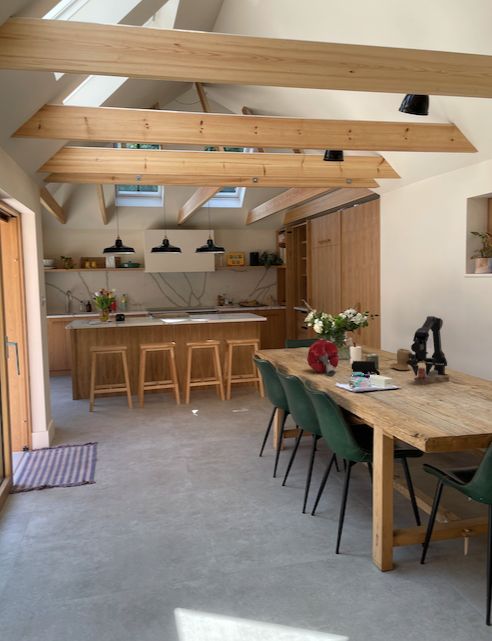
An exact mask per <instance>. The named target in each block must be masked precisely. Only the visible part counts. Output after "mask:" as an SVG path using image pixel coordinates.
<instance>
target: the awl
mask: <svg viewBox="0 0 492 641" xmlns="http://www.w3.org/2000/svg"><path fill="white" fill-rule="evenodd" d="M425 370H426V368H424V367H418V373H417V377H418V378H420V379H423V378H425Z"/></svg>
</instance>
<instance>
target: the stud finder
mask: <svg viewBox="0 0 492 641" xmlns="http://www.w3.org/2000/svg"><path fill="white" fill-rule="evenodd" d="M434 375H438V371H436V370H434V369H430V371H429V373H428V375H427V374H426V369H425V376H434Z"/></svg>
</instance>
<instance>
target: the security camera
mask: <svg viewBox="0 0 492 641" xmlns="http://www.w3.org/2000/svg"><path fill="white" fill-rule="evenodd" d="M350 365H351V371H352V372H353V373H361V374H362V373H364V374H368V375H376V374H377V375H381V374H380V373H381V372H380V371H379V370H378V369H377V367H376V362H375V360H352V363H351V364H350Z"/></svg>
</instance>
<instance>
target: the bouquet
mask: <svg viewBox="0 0 492 641" xmlns="http://www.w3.org/2000/svg"><path fill="white" fill-rule="evenodd" d="M338 354H339V349H338V347H337V346H336V345H335V343H334V341H327V340H326V339H320V340H315V342H314V343H313V344H311V345H310V347H309V350H308V352H307V356H306V357H307V358H306V362H307V364H308V366H309V367H310V368H311V369H312V370H314V371H315V370H316V371H317V372H319V373H322V372H327V375H328V376H329V377H332V376H334V375H335V373H336V371H335V369H336V368H337V367H338V365H339V355H338ZM334 368H335V369H334Z"/></svg>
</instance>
